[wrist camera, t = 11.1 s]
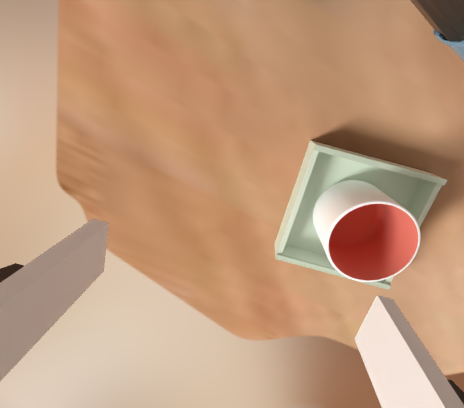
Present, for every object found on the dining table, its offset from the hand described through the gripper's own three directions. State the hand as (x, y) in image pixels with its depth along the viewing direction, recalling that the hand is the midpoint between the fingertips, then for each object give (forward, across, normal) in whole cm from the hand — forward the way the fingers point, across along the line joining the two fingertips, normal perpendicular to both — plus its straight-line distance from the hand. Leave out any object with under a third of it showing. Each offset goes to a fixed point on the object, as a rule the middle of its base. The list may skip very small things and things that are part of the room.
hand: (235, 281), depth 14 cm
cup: (+28, +15, -3) cm, 32 cm away
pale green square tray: (+29, +15, -3) cm, 32 cm away
